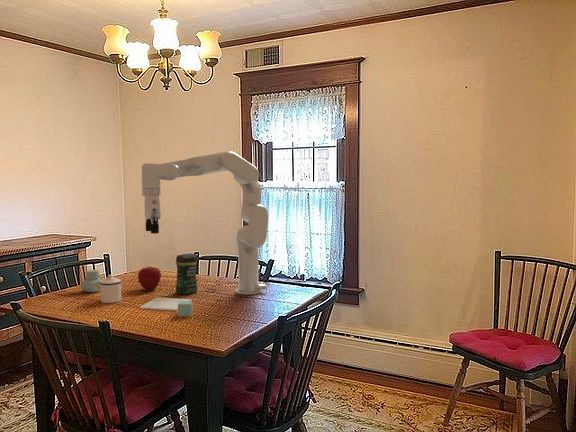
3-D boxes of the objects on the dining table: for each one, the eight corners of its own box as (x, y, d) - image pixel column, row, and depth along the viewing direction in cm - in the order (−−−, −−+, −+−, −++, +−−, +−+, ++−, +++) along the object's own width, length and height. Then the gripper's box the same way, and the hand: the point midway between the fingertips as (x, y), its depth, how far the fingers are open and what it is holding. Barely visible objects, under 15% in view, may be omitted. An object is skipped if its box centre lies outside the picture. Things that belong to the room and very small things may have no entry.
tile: (191, 301, 222) (191, 299, 222) (175, 310, 206) (175, 308, 206) (157, 299, 225) (157, 297, 225) (140, 308, 209) (140, 306, 209)
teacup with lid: (126, 300, 223) (125, 274, 222) (109, 304, 215) (109, 278, 214) (107, 296, 229) (107, 271, 228) (91, 301, 221) (90, 275, 220)
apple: (164, 290, 242) (164, 266, 240) (142, 293, 236) (142, 268, 234) (156, 286, 251) (156, 263, 250) (135, 288, 245) (134, 265, 244)
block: (192, 312, 204) (192, 300, 203) (190, 316, 199) (190, 304, 198) (180, 313, 203) (179, 301, 203) (178, 316, 198) (177, 304, 198)
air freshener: (89, 294, 233) (88, 273, 232) (77, 292, 237) (76, 271, 236) (108, 290, 242) (107, 269, 241) (96, 288, 246) (95, 267, 245)
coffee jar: (183, 296, 231) (182, 256, 229) (173, 293, 236) (172, 254, 235) (200, 292, 238) (199, 253, 236) (190, 289, 243) (189, 251, 242)
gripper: (165, 193, 208) (166, 233, 209) (155, 191, 223) (156, 229, 224) (146, 193, 204) (147, 235, 206) (138, 191, 219) (139, 230, 221)
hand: (152, 232), depth 215 cm, fingers open, 9 cm apart
